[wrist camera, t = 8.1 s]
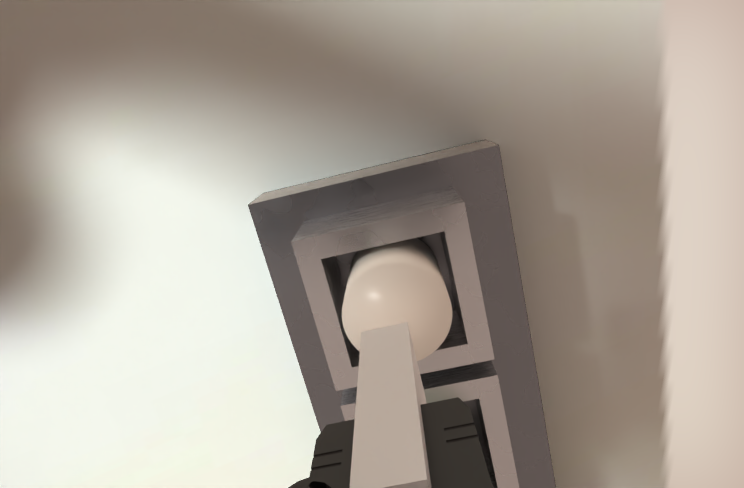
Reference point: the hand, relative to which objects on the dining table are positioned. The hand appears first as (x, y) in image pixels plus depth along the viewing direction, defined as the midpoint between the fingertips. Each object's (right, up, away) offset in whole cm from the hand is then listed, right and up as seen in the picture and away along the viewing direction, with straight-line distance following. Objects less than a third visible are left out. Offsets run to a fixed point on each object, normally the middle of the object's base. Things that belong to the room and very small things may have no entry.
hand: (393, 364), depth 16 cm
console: (+2, -4, +13) cm, 14 cm away
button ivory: (0, +2, +8) cm, 8 cm away
